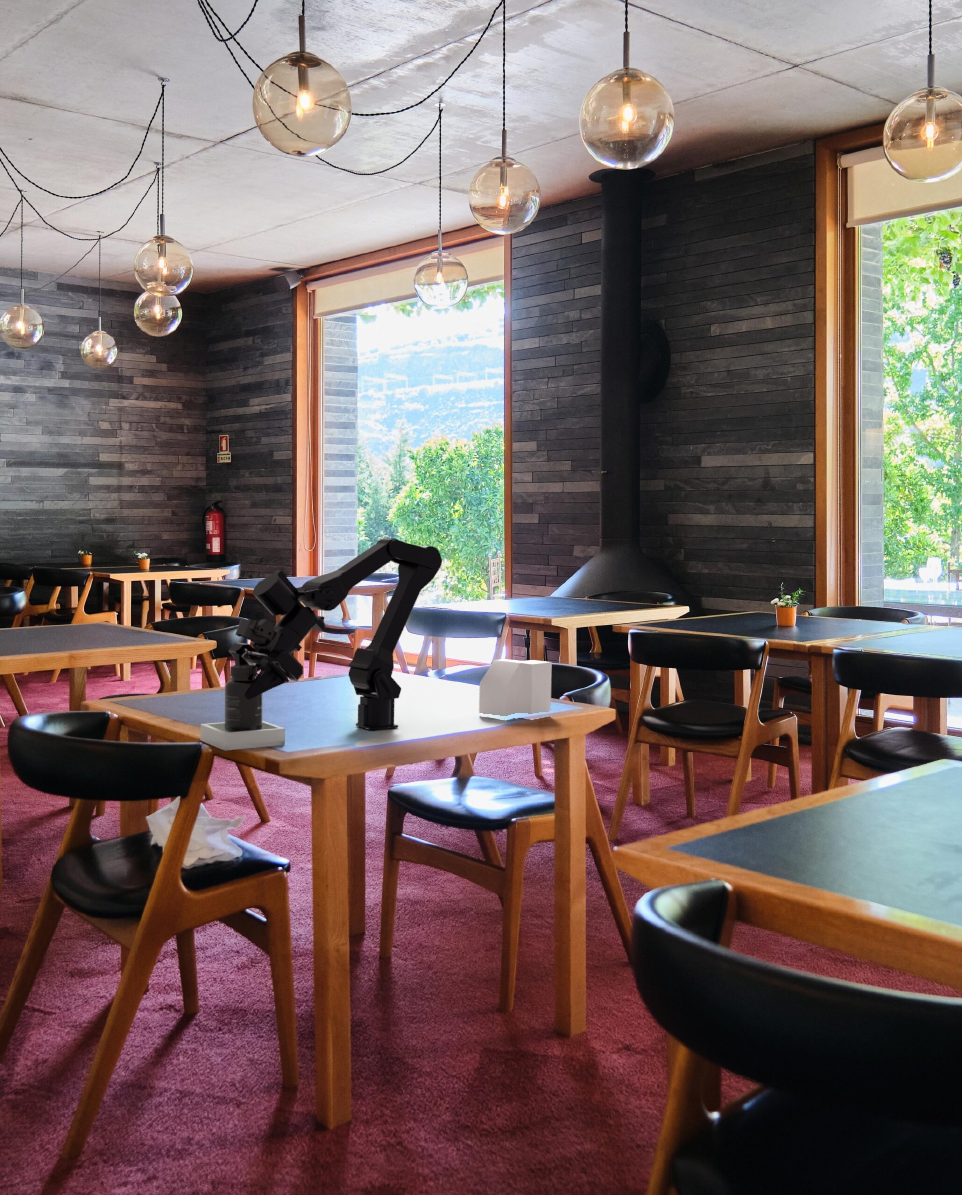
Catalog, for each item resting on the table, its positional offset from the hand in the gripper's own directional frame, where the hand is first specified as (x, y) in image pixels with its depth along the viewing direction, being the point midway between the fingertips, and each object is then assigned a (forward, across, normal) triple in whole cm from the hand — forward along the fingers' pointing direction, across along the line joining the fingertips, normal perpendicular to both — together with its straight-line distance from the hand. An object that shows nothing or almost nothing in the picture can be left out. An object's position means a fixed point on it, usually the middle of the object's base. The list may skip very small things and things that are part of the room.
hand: (236, 695), depth 208 cm
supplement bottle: (+4, 0, +6) cm, 7 cm away
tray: (+5, 0, +7) cm, 9 cm away
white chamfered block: (-38, +6, +52) cm, 65 cm away
